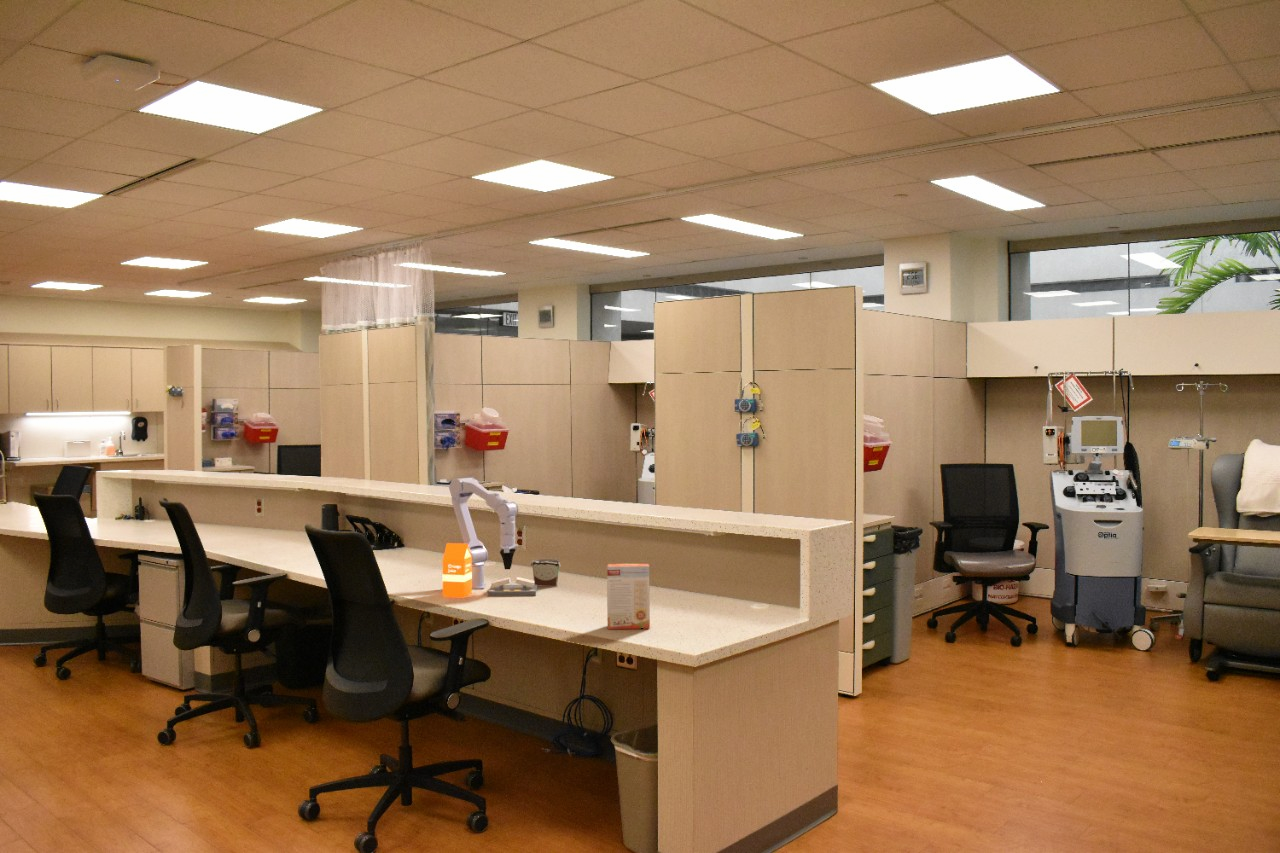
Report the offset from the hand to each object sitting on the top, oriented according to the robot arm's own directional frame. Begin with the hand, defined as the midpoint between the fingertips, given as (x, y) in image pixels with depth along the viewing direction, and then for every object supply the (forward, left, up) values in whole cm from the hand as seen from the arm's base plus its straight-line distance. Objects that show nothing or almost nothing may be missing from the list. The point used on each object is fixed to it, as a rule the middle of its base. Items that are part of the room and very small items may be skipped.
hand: (507, 568), depth 372 cm
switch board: (+2, 0, -9) cm, 10 cm away
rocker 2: (+7, 0, -6) cm, 9 cm away
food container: (+15, +15, -10) cm, 23 cm away
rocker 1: (-2, 0, -6) cm, 7 cm away
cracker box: (+44, -59, -10) cm, 74 cm away
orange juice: (-19, -4, -10) cm, 22 cm away
